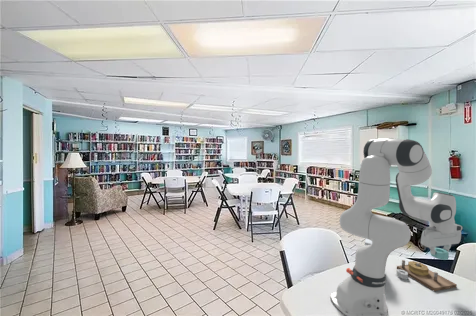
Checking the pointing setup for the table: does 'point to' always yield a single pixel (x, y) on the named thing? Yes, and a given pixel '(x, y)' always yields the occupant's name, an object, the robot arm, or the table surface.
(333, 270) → the table surface
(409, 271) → the gear board
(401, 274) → the grey gear
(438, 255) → the teal gear
